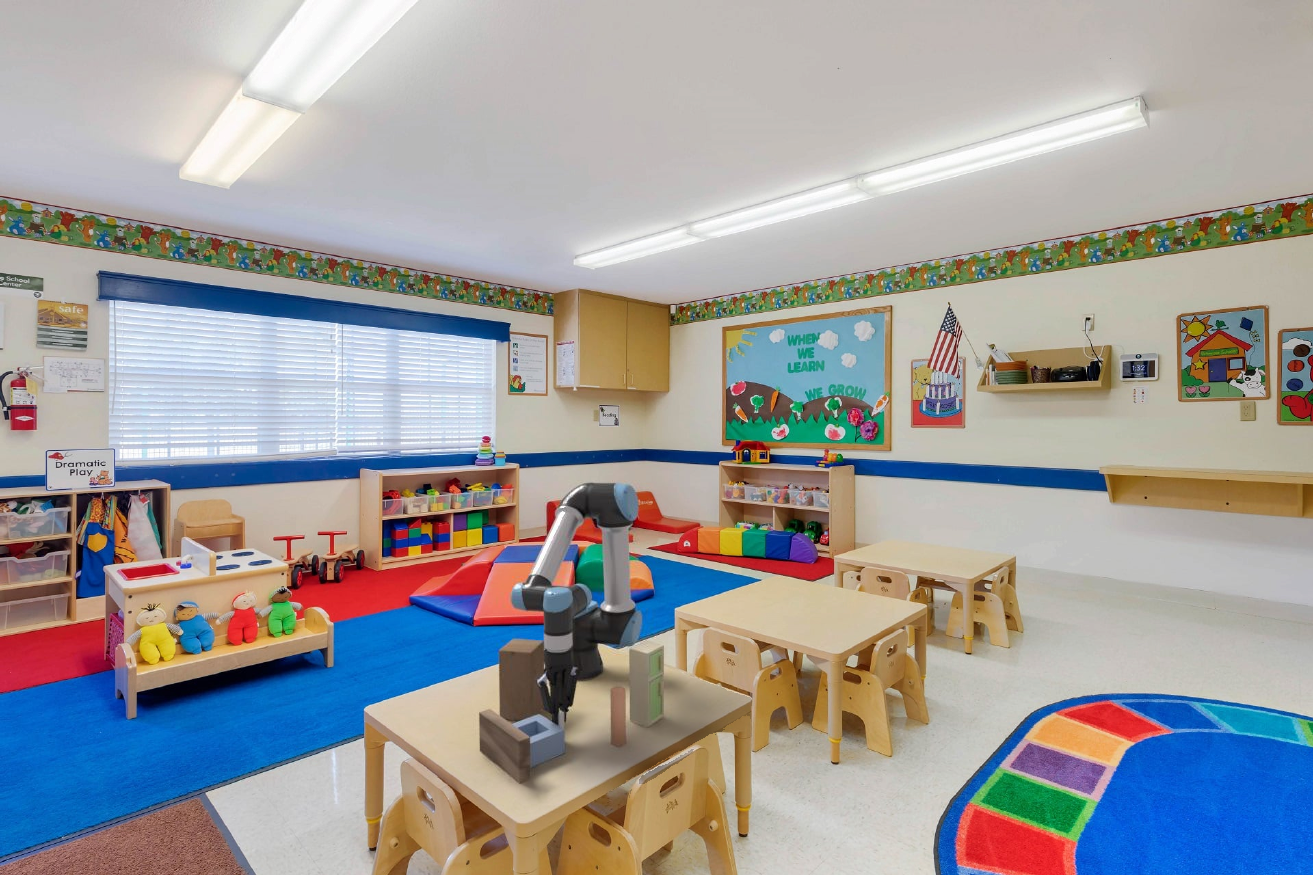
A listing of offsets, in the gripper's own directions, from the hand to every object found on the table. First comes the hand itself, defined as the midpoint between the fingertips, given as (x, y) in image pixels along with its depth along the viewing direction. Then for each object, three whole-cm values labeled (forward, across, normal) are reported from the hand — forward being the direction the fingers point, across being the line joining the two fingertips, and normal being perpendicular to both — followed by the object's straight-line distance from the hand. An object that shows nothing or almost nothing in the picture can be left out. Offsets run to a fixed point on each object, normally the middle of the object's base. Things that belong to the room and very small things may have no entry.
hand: (559, 735), depth 167 cm
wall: (+2, +16, 0) cm, 16 cm away
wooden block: (+2, -1, -21) cm, 21 cm away
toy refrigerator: (+2, -25, +7) cm, 26 cm away
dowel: (+2, -11, +11) cm, 16 cm away
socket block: (+2, +8, 0) cm, 8 cm away
